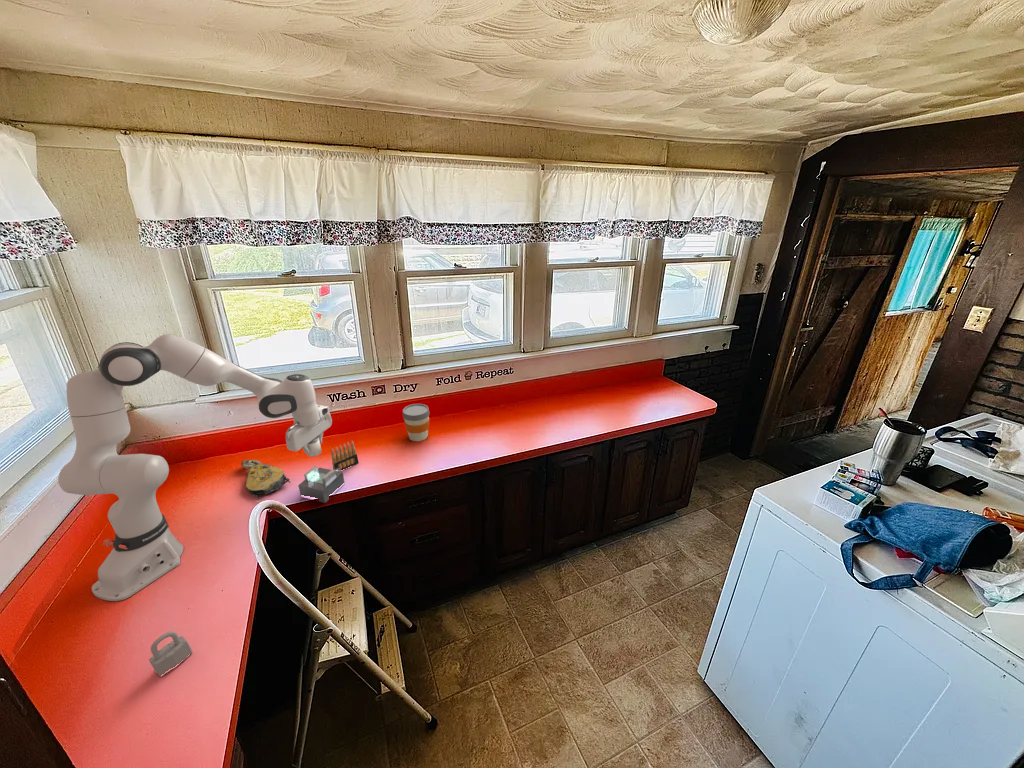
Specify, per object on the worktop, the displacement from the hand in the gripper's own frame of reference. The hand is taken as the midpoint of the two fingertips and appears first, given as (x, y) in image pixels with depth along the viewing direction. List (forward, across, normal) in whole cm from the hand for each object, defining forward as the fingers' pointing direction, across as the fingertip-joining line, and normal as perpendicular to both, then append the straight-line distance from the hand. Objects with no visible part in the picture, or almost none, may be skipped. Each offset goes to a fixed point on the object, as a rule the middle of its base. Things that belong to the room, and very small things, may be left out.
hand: (313, 448), depth 157 cm
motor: (+20, +2, 0) cm, 20 cm away
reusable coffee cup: (+20, +48, -17) cm, 55 cm away
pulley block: (+21, -1, +29) cm, 36 cm away
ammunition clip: (+20, +16, +1) cm, 26 cm away
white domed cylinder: (+2, 0, 0) cm, 2 cm away
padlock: (+20, -67, -9) cm, 71 cm away
